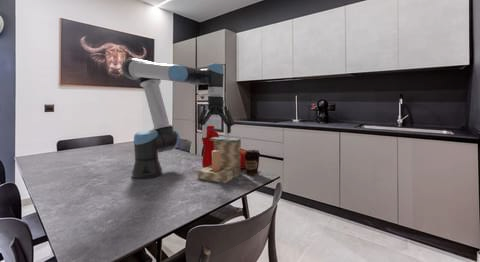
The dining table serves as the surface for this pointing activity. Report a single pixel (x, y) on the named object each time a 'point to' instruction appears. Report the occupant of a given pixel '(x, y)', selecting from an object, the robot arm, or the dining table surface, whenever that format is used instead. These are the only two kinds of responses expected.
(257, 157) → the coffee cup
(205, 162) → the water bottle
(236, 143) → the socket awning
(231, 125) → the robot arm
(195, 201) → the dining table surface
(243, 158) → the tomato
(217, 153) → the peg
